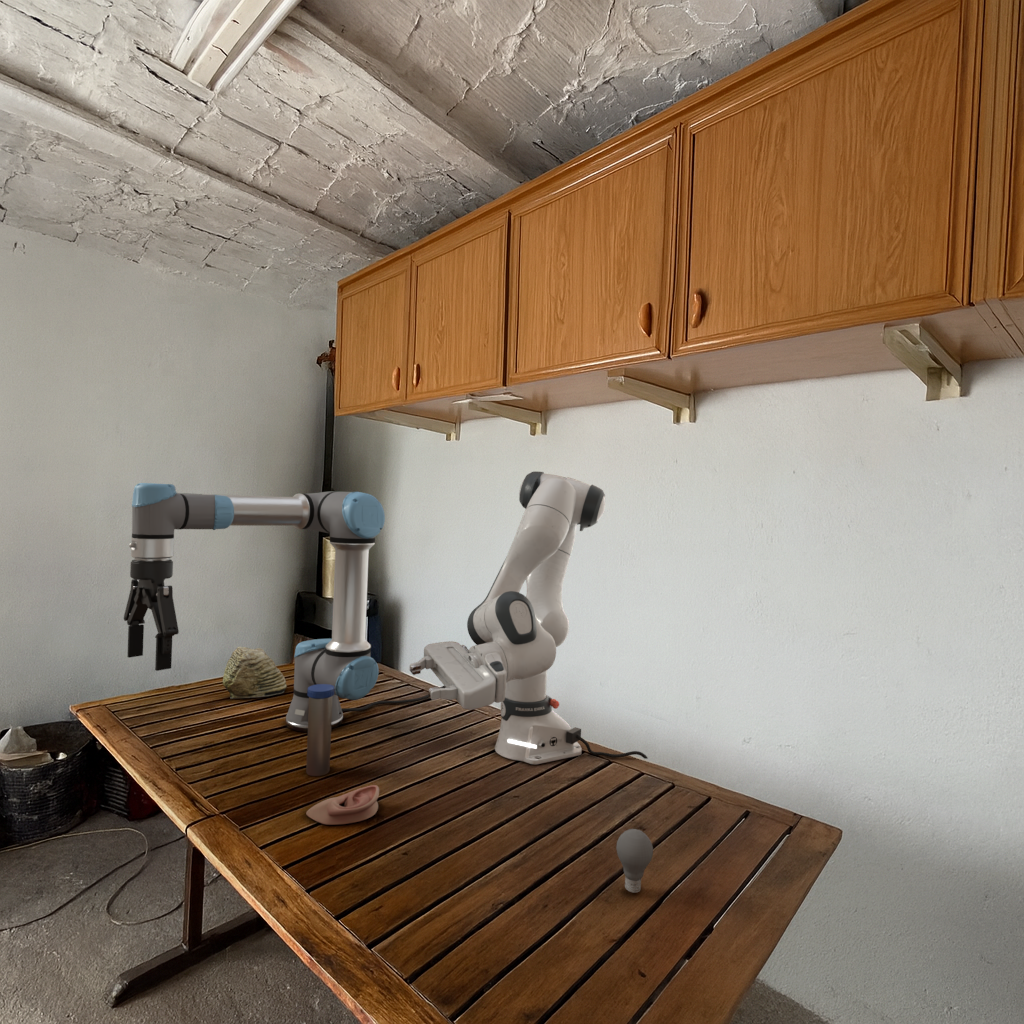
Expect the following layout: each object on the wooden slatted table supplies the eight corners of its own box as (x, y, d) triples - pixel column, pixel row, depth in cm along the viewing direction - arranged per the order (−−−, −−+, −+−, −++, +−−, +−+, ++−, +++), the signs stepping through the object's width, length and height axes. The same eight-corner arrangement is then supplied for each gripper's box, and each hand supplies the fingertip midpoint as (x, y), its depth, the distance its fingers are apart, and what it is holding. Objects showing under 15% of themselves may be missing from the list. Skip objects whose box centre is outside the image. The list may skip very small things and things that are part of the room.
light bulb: (610, 879, 108) (613, 822, 108) (644, 879, 109) (647, 822, 109) (619, 902, 102) (622, 840, 102) (655, 901, 103) (658, 840, 103)
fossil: (218, 695, 195) (220, 647, 195) (278, 685, 208) (279, 640, 207) (228, 703, 189) (230, 653, 188) (289, 692, 201) (290, 645, 201)
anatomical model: (298, 800, 123) (327, 775, 135) (298, 820, 123) (326, 794, 135) (362, 810, 121) (386, 784, 132) (361, 830, 121) (385, 803, 132)
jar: (314, 765, 149) (317, 685, 149) (333, 768, 148) (336, 687, 147) (301, 774, 144) (304, 691, 144) (321, 777, 143) (325, 694, 142)
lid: (316, 689, 149) (316, 682, 149) (339, 692, 148) (339, 685, 148) (301, 696, 143) (302, 689, 143) (325, 700, 142) (325, 692, 142)
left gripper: (108, 554, 134) (104, 654, 134) (159, 565, 118) (155, 678, 119) (146, 552, 140) (143, 648, 140) (199, 563, 124) (195, 671, 124)
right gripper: (462, 629, 135) (400, 642, 128) (510, 677, 118) (442, 694, 111) (460, 655, 137) (400, 669, 130) (508, 706, 120) (441, 725, 113)
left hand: (148, 662), depth 129 cm, fingers open, 13 cm apart
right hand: (420, 681), depth 121 cm, fingers open, 8 cm apart
